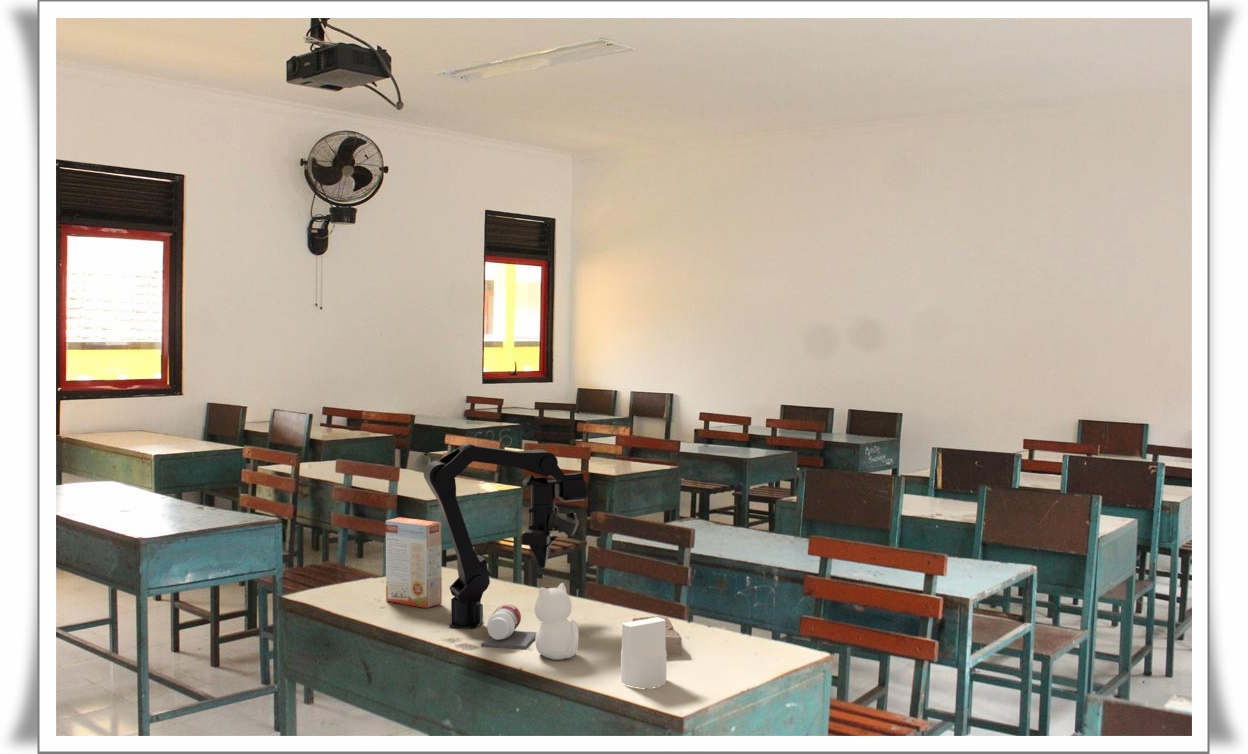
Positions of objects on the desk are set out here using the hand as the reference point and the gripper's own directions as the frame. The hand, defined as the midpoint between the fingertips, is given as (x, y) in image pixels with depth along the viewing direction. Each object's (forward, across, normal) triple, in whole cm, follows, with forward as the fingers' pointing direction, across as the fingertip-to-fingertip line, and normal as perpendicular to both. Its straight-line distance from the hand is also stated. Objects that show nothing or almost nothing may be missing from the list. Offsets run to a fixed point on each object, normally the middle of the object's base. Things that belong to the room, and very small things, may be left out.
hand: (542, 567), depth 270 cm
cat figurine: (+12, -30, -11) cm, 34 cm away
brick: (+12, -18, -30) cm, 37 cm away
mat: (+12, -20, +2) cm, 24 cm away
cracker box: (+12, +7, +35) cm, 38 cm away
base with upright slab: (+12, -43, -31) cm, 54 cm away
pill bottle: (+8, -14, +5) cm, 17 cm away
